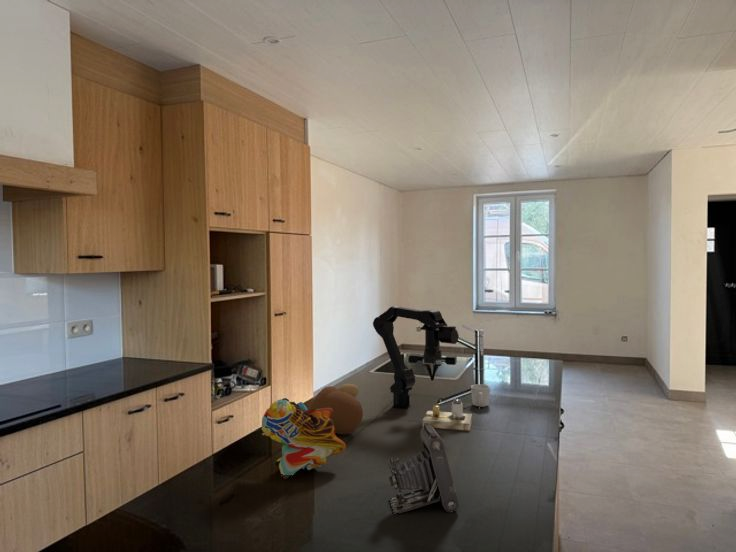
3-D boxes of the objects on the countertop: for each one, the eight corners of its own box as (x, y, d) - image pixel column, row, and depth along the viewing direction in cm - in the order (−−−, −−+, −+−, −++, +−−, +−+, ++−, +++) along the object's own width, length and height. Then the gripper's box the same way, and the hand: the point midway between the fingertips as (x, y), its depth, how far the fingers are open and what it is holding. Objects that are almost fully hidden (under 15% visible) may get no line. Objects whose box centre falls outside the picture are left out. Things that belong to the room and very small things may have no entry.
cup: (490, 410, 207) (490, 391, 207) (470, 409, 209) (470, 390, 208) (489, 403, 218) (489, 384, 217) (470, 402, 219) (470, 383, 219)
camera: (391, 511, 132) (371, 438, 131) (453, 491, 133) (434, 419, 132) (398, 534, 121) (376, 454, 120) (465, 512, 123) (444, 434, 121)
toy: (304, 441, 186) (347, 461, 175) (287, 416, 176) (332, 436, 165) (339, 391, 199) (381, 407, 188) (325, 365, 189) (369, 380, 178)
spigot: (451, 425, 189) (451, 400, 188) (452, 422, 192) (452, 398, 192) (462, 426, 188) (462, 401, 187) (463, 423, 191) (463, 398, 191)
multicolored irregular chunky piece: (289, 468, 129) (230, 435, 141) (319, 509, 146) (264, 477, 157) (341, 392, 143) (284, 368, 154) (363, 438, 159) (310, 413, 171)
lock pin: (431, 423, 191) (431, 406, 191) (432, 421, 194) (432, 405, 194) (447, 424, 190) (447, 408, 189) (448, 422, 192) (448, 406, 192)
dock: (422, 426, 187) (422, 420, 187) (427, 417, 199) (427, 410, 199) (469, 430, 183) (469, 423, 183) (472, 420, 194) (472, 413, 194)
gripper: (405, 343, 198) (405, 383, 199) (453, 345, 193) (453, 386, 194) (410, 339, 209) (411, 377, 210) (456, 341, 204) (456, 380, 204)
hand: (432, 380), depth 204 cm, fingers closed
